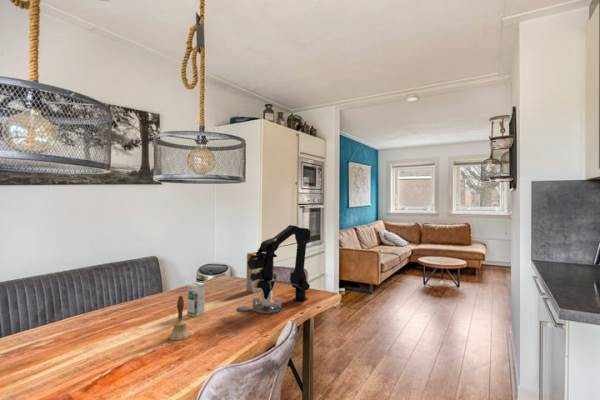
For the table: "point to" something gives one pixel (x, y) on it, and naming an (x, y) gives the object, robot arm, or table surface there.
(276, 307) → the lugged metal disc
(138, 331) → the table surface
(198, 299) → the syrup box
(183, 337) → the hand bell
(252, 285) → the juice carton
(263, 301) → the cream block with tab
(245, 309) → the rubber pad
